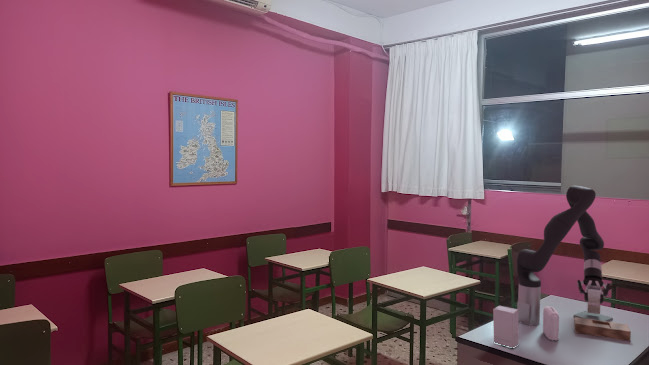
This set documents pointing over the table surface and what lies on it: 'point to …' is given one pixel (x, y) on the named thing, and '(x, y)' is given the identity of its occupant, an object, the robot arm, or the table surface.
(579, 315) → the rubber mat
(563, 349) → the table surface
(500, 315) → the skincare box
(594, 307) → the lever cap
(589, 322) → the body
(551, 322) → the photo printer
